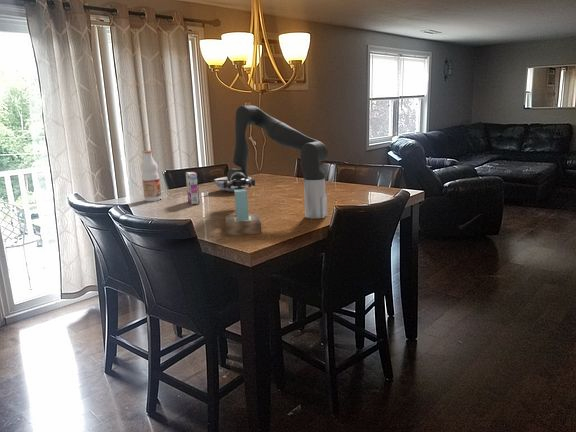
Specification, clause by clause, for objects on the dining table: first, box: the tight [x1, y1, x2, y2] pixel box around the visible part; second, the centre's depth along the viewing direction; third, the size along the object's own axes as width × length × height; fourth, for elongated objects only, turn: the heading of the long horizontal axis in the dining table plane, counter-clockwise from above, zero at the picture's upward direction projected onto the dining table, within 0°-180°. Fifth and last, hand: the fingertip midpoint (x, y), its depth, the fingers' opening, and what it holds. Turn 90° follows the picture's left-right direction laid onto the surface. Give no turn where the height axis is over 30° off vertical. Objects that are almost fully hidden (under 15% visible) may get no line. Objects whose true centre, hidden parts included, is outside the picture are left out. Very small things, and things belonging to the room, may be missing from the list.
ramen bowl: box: [209, 176, 252, 193], centre depth 271 cm, size 25×23×8 cm
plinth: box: [225, 212, 262, 237], centre depth 185 cm, size 14×18×4 cm
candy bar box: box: [185, 171, 200, 206], centre depth 240 cm, size 11×5×16 cm, turn 21°
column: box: [233, 188, 250, 221], centre depth 183 cm, size 5×5×12 cm
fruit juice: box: [140, 150, 163, 202], centre depth 252 cm, size 9×9×28 cm
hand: (239, 185), depth 195 cm, fingers open, 8 cm apart
